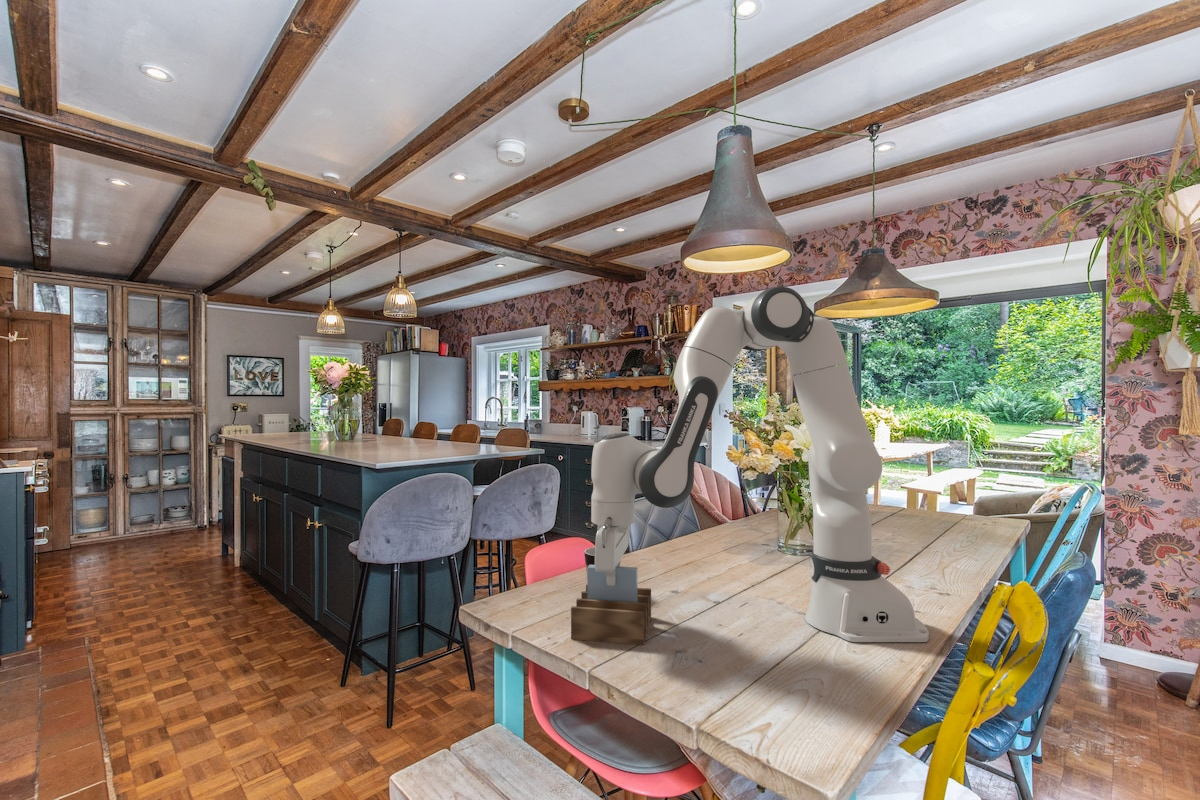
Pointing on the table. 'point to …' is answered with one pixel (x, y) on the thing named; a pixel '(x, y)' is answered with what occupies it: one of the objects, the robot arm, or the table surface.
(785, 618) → the table surface
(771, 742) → the table surface
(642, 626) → the walnut rack
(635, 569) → the upright grey-blue slab
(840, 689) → the table surface
